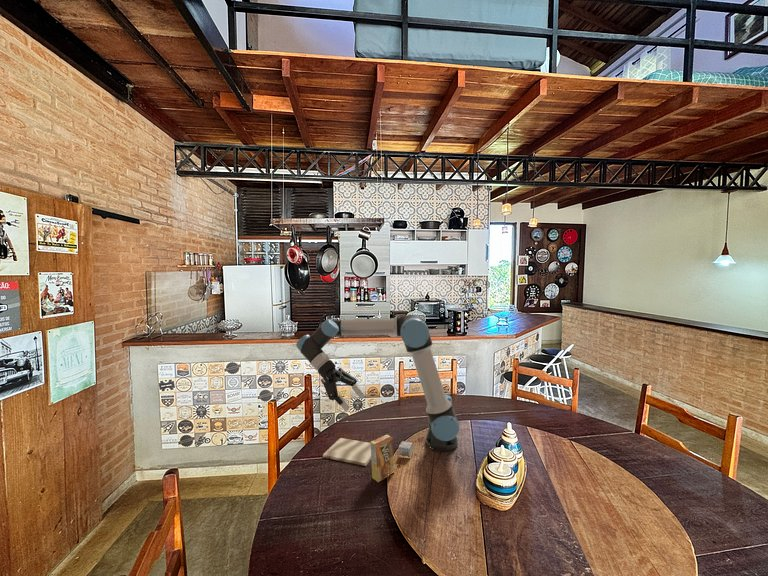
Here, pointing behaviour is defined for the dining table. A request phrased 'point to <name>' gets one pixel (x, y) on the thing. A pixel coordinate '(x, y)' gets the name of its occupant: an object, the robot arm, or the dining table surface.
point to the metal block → (405, 448)
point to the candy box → (382, 457)
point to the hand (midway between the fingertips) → (356, 402)
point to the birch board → (350, 451)
